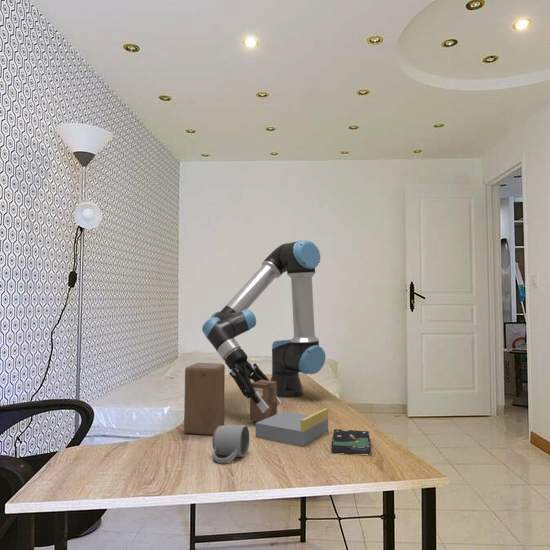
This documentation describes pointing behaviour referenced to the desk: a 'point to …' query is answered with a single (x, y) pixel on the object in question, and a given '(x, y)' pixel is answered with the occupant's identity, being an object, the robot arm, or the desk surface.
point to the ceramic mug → (230, 442)
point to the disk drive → (350, 442)
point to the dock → (293, 427)
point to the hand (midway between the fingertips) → (272, 407)
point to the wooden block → (204, 398)
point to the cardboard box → (268, 395)
